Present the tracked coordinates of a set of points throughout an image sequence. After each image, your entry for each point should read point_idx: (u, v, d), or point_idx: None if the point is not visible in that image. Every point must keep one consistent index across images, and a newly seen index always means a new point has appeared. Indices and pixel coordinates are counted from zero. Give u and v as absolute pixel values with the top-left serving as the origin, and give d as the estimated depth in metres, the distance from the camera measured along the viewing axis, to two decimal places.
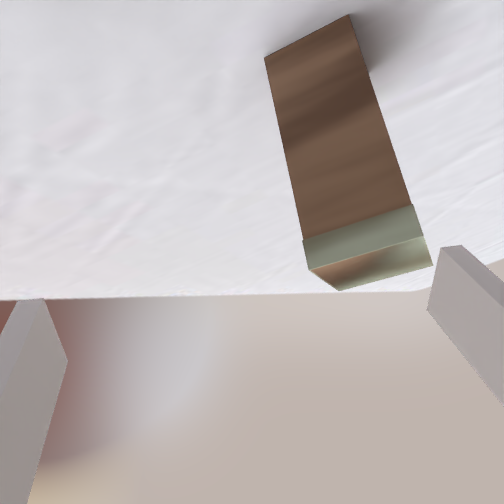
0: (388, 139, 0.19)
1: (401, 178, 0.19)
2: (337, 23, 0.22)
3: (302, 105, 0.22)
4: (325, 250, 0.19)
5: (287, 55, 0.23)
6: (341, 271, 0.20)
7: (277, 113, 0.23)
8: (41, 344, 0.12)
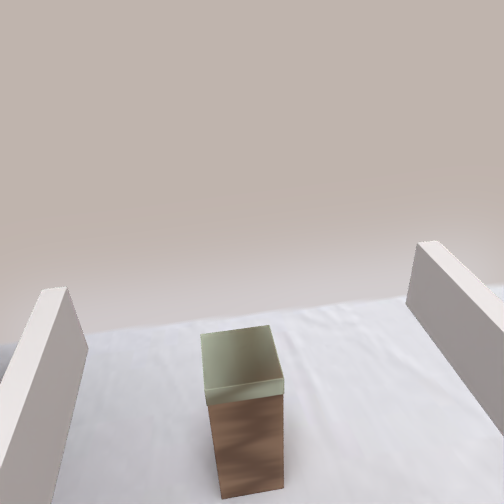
0: None
1: None
2: None
3: None
4: None
5: None
6: (228, 372, 0.28)
7: (217, 469, 0.31)
8: (66, 330, 0.13)
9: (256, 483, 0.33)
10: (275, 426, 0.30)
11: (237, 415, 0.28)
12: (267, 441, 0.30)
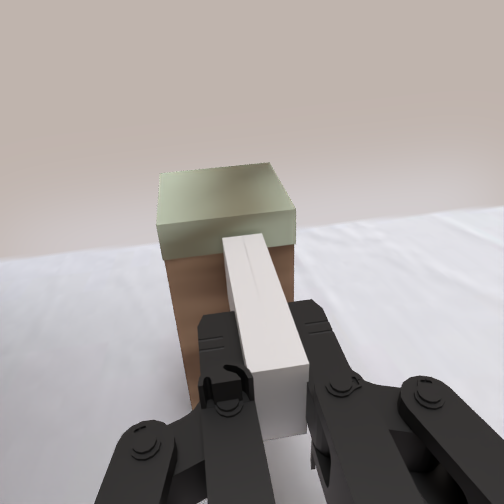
0: None
1: None
2: None
3: None
4: None
5: None
6: (199, 206, 0.16)
7: None
8: None
9: None
10: None
11: (217, 286, 0.17)
12: None
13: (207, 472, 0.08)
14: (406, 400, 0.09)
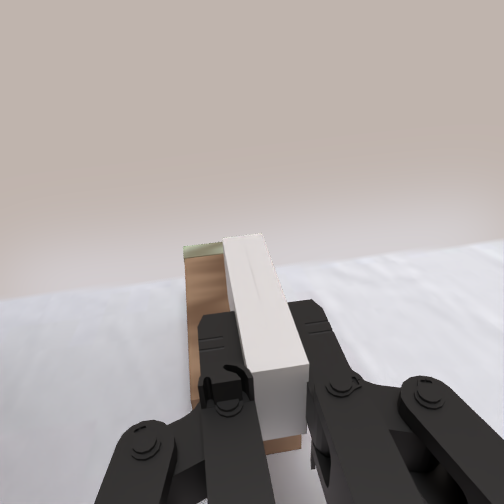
0: None
1: None
2: None
3: None
4: None
5: None
6: None
7: (188, 337, 0.22)
8: None
9: None
10: None
11: (214, 268, 0.27)
12: None
13: (207, 472, 0.08)
14: (406, 400, 0.09)
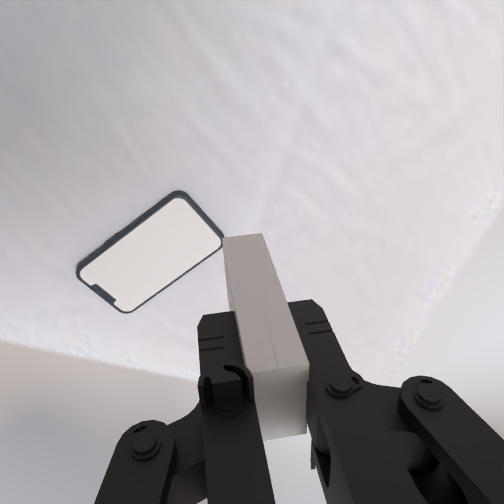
0: None
1: None
2: None
3: None
4: None
5: None
6: None
7: None
8: None
9: None
10: None
11: None
12: None
13: (207, 472, 0.08)
14: (406, 400, 0.09)
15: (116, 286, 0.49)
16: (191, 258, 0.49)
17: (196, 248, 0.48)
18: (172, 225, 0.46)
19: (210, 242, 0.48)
